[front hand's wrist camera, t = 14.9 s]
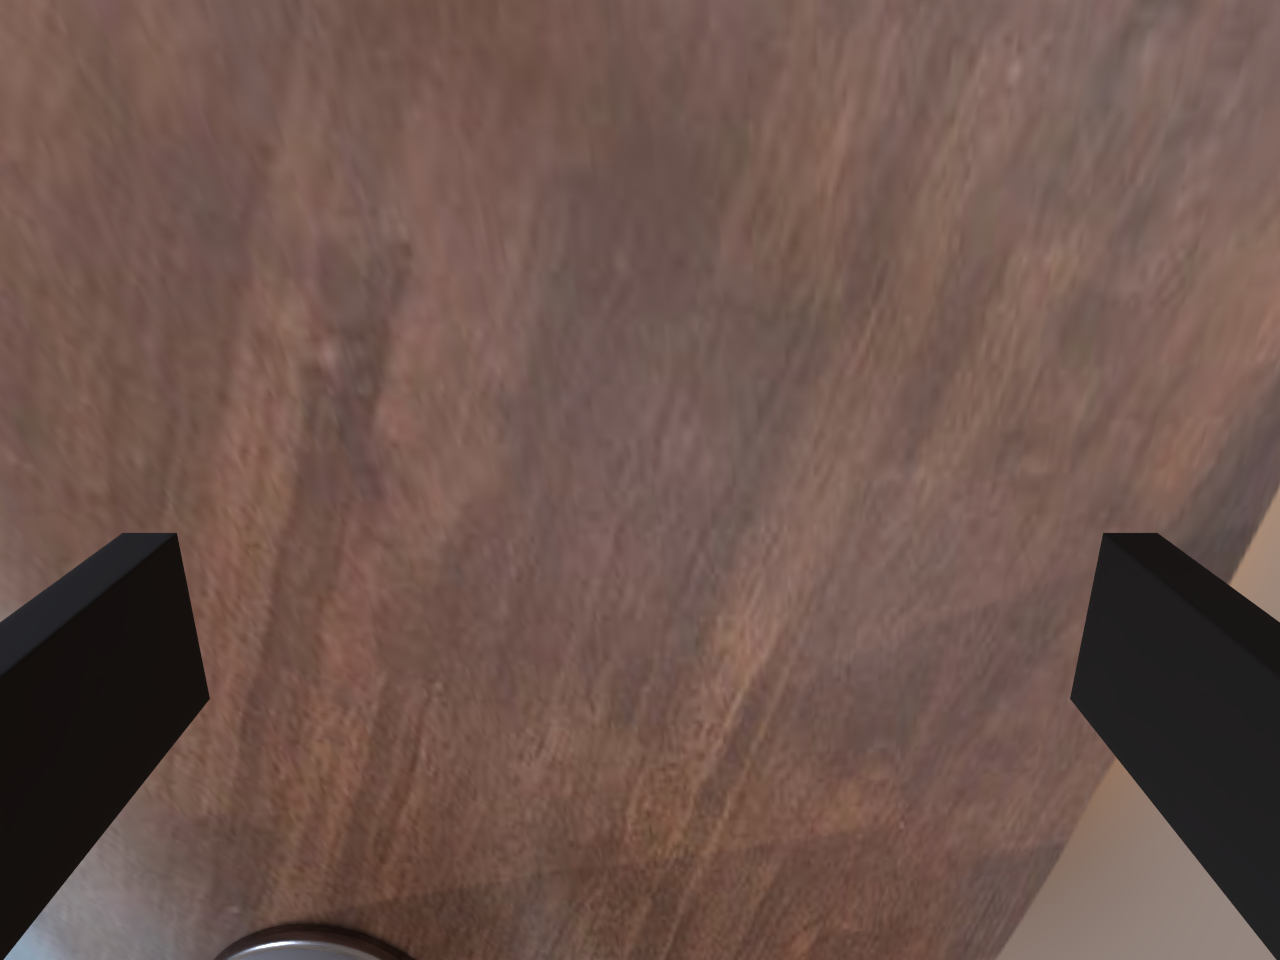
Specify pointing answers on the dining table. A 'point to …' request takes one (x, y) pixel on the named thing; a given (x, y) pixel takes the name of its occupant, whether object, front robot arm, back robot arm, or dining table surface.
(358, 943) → the front robot arm
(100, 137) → the dining table surface
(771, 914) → the dining table surface
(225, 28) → the dining table surface
